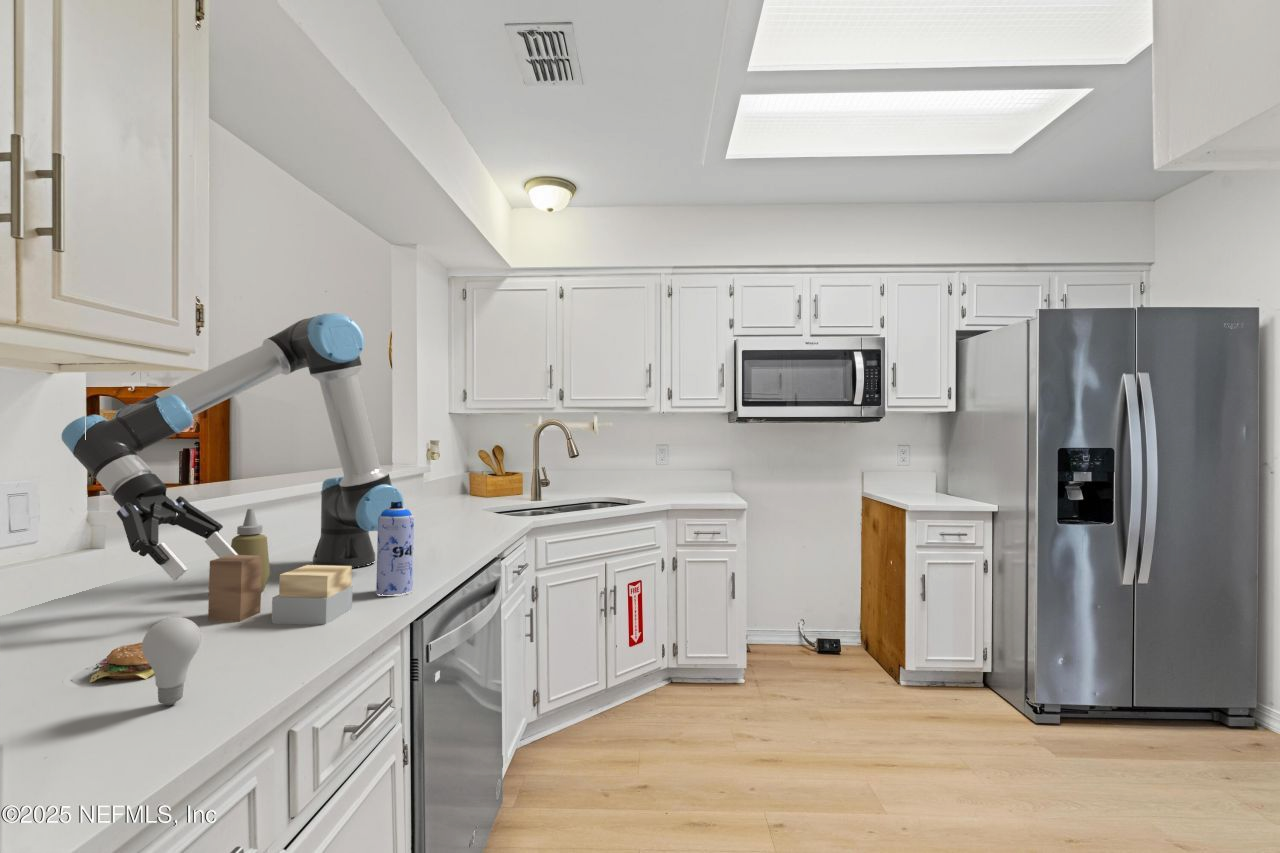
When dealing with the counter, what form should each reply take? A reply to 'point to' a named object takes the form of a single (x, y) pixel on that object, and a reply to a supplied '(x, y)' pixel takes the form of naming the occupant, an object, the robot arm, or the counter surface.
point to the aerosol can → (395, 550)
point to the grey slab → (310, 608)
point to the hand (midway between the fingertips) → (208, 567)
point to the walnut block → (234, 587)
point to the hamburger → (124, 664)
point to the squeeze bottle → (252, 543)
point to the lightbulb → (171, 655)
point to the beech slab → (315, 581)
